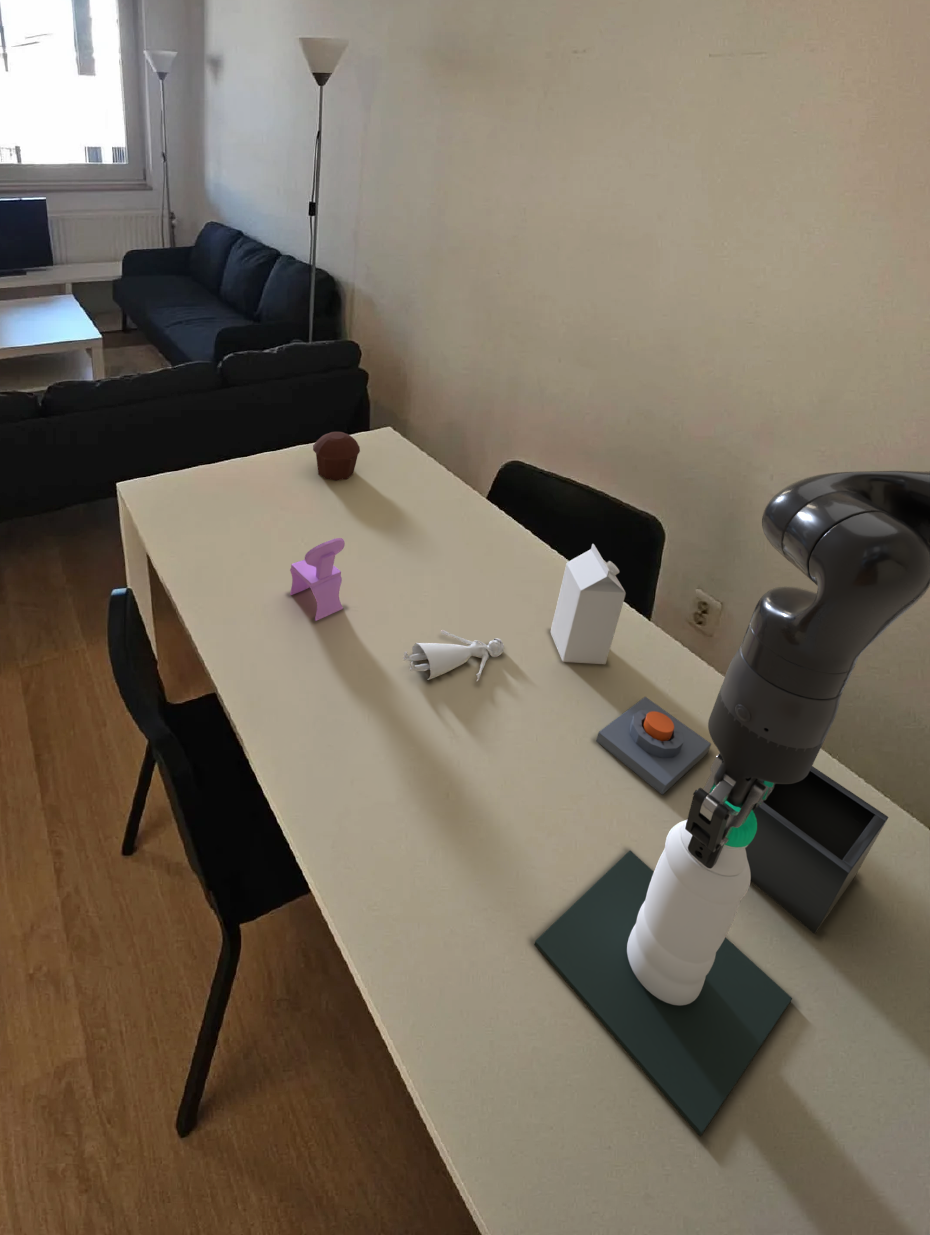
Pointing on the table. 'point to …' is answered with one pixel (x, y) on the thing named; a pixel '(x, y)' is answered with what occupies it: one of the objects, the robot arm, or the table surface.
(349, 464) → the muffin
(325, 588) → the toy chair
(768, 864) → the dark grey storage bin
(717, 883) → the water bottle
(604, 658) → the milk carton
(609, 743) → the control block
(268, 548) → the table surface
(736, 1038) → the mat
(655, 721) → the button
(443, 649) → the woman figurine
